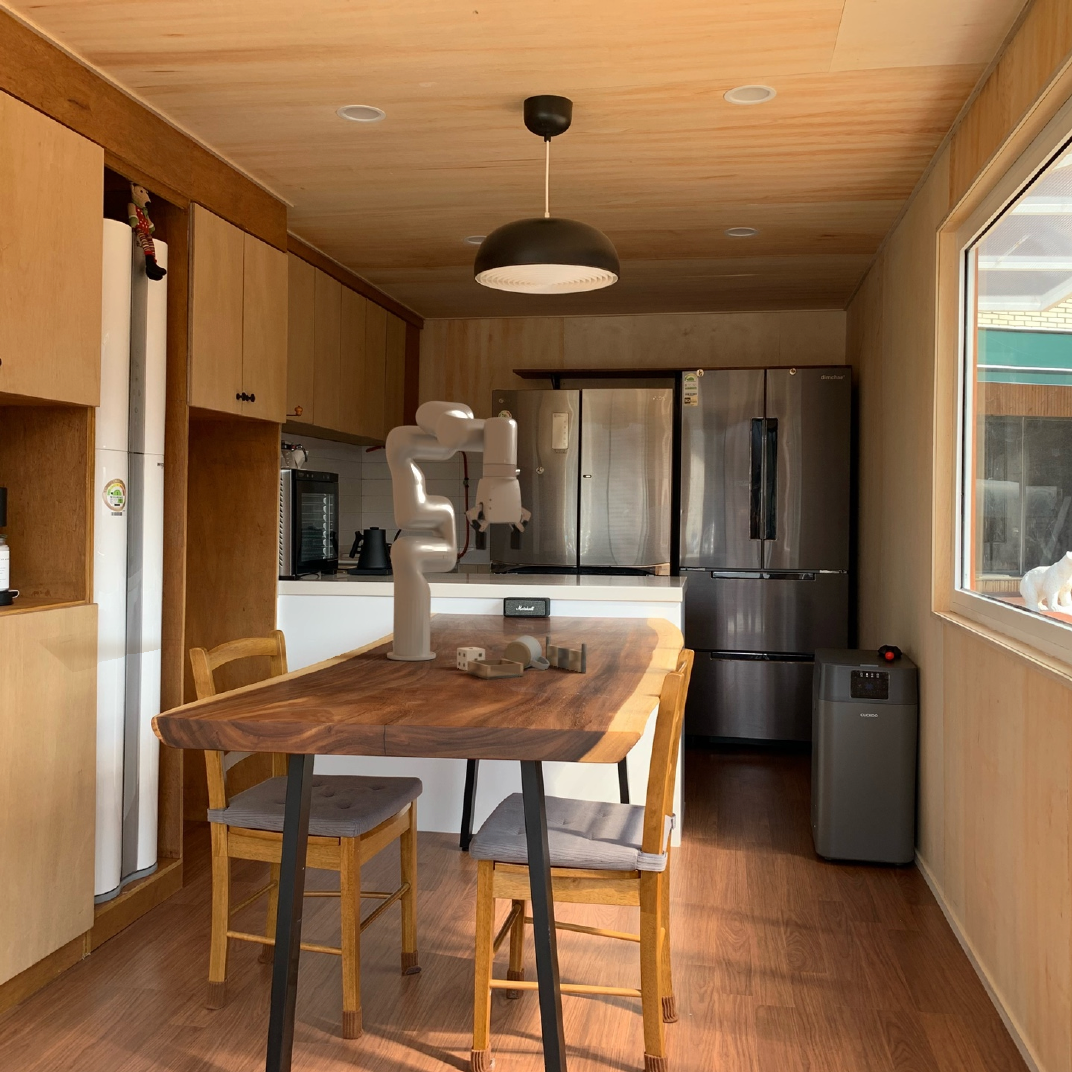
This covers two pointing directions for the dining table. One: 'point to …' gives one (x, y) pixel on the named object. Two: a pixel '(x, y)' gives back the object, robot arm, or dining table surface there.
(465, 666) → the die
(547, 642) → the scoring rail
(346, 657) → the dining table surface
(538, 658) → the ceramic mug
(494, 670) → the felt tray
